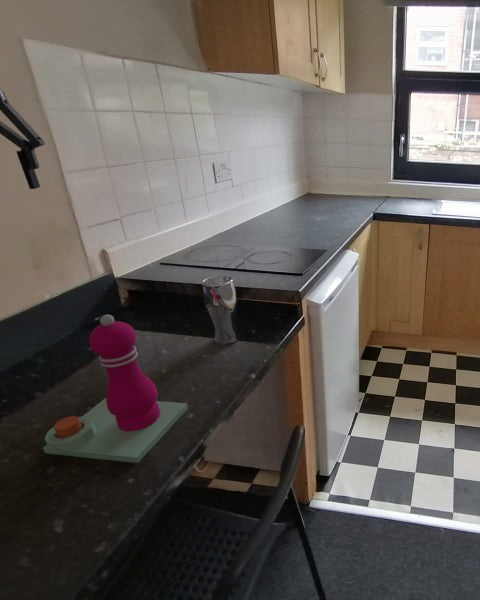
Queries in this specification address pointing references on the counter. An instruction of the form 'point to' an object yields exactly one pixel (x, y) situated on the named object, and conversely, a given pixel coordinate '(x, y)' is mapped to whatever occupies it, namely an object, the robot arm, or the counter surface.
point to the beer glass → (222, 308)
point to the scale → (113, 435)
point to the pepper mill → (124, 375)
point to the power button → (68, 426)
